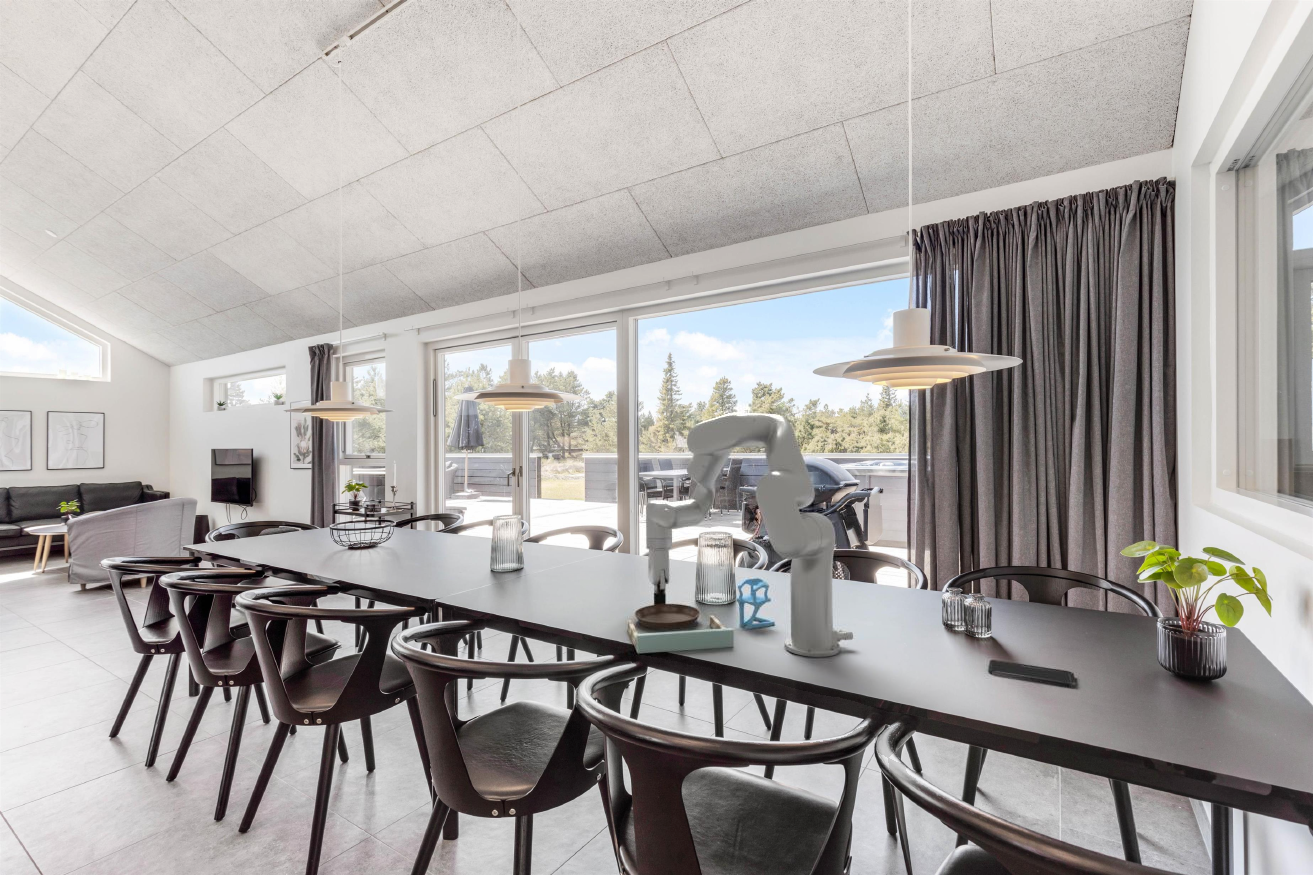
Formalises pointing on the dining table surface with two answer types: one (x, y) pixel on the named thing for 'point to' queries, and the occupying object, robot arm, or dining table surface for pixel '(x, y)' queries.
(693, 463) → the robot arm
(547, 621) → the dining table surface
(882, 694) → the dining table surface
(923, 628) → the dining table surface
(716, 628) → the saucer dock
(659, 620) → the plant saucer
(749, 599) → the chair
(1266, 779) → the dining table surface
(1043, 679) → the phone
